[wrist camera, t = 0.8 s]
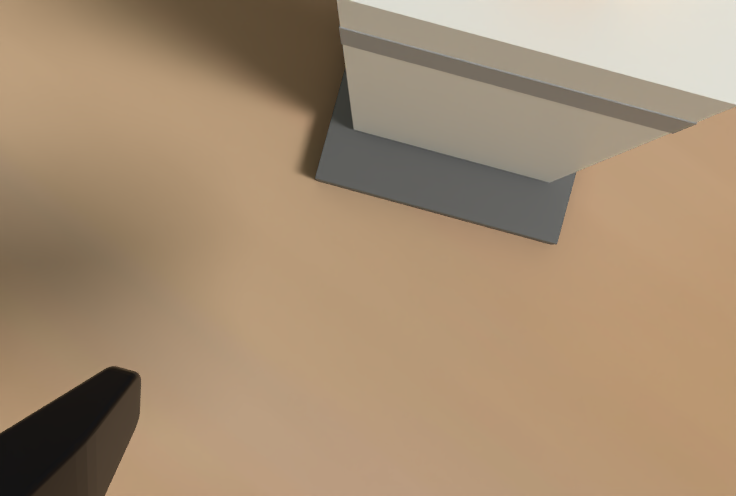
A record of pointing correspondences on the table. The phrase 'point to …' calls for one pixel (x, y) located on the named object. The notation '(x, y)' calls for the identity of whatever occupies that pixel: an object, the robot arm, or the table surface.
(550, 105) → the block
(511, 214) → the grey block
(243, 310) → the table surface
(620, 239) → the table surface
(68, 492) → the robot arm
